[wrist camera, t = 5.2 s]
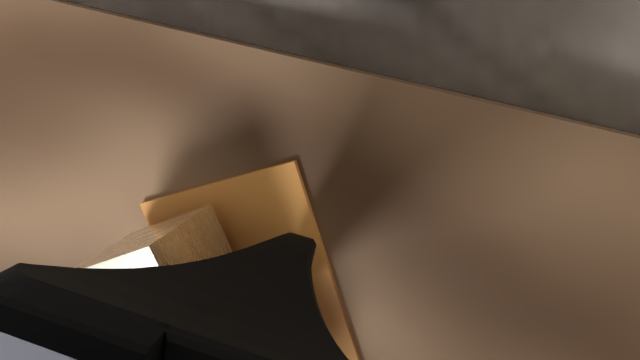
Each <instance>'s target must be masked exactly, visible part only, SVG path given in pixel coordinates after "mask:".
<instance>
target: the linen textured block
mask: <svg viewBox="0 0 640 360" xmlns="http://www.w3.org/2000/svg"><path fill="white" fill-rule="evenodd" d="M230 252H233V251H232V249H231V247H230V245H229V243H228V240H227V238H226V236H225V234H224V231H223V229H222V227H221V225H220V223H219V220H218V218H217V216H216V214H215V211H214V209H213V207H212V205H211V204H209V205H206V206H203V207H201V208H198V209H195V210H192V211H190V212H187V213H184V214H181V215H179V216H176V217H173V218H170V219H168V220H165V221H162V222H159V223H156V224H154V225H151V226H148V227H145V228H143V229H140V230H137V231H134V232H132V233H131V234H129V235H127V236H126V237H124V238H122V239H121V240H119V241H117V242H116V243H114V244H112V245H110V246H109V247H107V248H105V249H104V250H102V251H100V252H99V253H97V254H95V255H94V256H92V257H90V258H89V259H87V260H85V261H83V262H82V263H80V264H78V265H77V266H75V267H73V268H99V269H121V268H143V267H154V266H165V265H175V264H182V263H188V262H194V261H199V260H204V259H209V258H213V257H217V256H220V255H224V254H227V253H230Z"/></svg>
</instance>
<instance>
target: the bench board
mask: <svg viewBox="0 0 640 360" xmlns="http://www.w3.org/2000/svg"><path fill="white" fill-rule="evenodd" d="M209 204H211V205H212V207H213V209H214V211H215V214H216V216H217V218H218V220H219V223H220V225H221V227H222V229H223V231H224V234H225V236H226V238H227V240H228V243H229V245H230V247H231V249H232V251H233V252H234V251H237V250H240V249H244V248H247V247H250V246H252V245H255V244H258V243H261V242H263V241H266V240H269V239H272V238H274V237H277V236H280V235H282V234H285V233H289V232H292V233H295V234H298V235H302V236H305V237H309V238H312V239H314V241H315V243H316V244H317V245H316V249H315V253H314V258H313V262H312V266H311V268H312V280H313V286H314V291H315V295H316V299H317V303H318V306H319V309H320V312H321V314H322V317H323V319H324V322H325V324H326V326H327V328H328V330H329V332H330V333H331V335H332V337H333V339H334V340H335V342H336V344H337V345H338V346H339V348H340V349H341V350H342V352H343V353H344V354H345V356H346V357H347V358H348V359H349V360H640V135H638V134H633V133H629V132H625V131H620V130H616V129H612V128H608V127H603V126H599V125H595V124H590V123H586V122H582V121H578V120H573V119H569V118H565V117H560V116H556V115H552V114H548V113H543V112H539V111H535V110H530V109H526V108H522V107H518V106H513V105H509V104H505V103H500V102H496V101H492V100H488V99H483V98H479V97H475V96H470V95H466V94H462V93H458V92H453V91H449V90H445V89H440V88H436V87H432V86H428V85H423V84H419V83H415V82H410V81H406V80H402V79H398V78H393V77H389V76H385V75H380V74H376V73H372V72H367V71H363V70H359V69H355V68H350V67H346V66H342V65H337V64H333V63H329V62H325V61H320V60H316V59H312V58H307V57H303V56H299V55H295V54H290V53H286V52H282V51H277V50H273V49H269V48H265V47H260V46H256V45H252V44H247V43H243V42H239V41H235V40H230V39H226V38H222V37H217V36H213V35H209V34H205V33H200V32H196V31H192V30H187V29H183V28H179V27H175V26H170V25H166V24H162V23H157V22H153V21H149V20H144V19H140V18H136V17H132V16H127V15H123V14H119V13H114V12H110V11H106V10H102V9H97V8H93V7H89V6H84V5H80V4H76V3H72V2H67V1H63V0H0V272H2V271H4V270H6V269H8V268H10V267H12V266H14V265H15V264H17V263H27V264H37V265H49V266H61V267H75V266H77V265H78V264H80V263H82V262H83V261H85V260H87V259H89V258H90V257H92V256H94V255H95V254H97V253H99V252H100V251H102V250H104V249H105V248H107V247H109V246H110V245H112V244H114V243H116V242H117V241H119V240H121V239H122V238H124V237H126V236H127V235H129V234H131V233H132V232H134V231H137V230H140V229H143V228H145V227H148V226H151V225H154V224H156V223H159V222H162V221H165V220H168V219H170V218H173V217H176V216H179V215H181V214H184V213H187V212H190V211H192V210H195V209H198V208H201V207H203V206H206V205H209Z"/></svg>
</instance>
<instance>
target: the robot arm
mask: <svg viewBox="0 0 640 360" xmlns="http://www.w3.org/2000/svg"><path fill="white" fill-rule="evenodd" d="M316 245H317V244H316V243H315V241H314V239H312V238H309V237H305V236H302V235H298V234H295V233H292V232H289V233H285V234H282V235H280V236H277V237H274V238H272V239H269V240H266V241H263V242H261V243H258V244H255V245H252V246H250V247H247V248H244V249H240V250H237V251H234V252H230V253H227V254H224V255H220V256H217V257H213V258H209V259H204V260H199V261H194V262H188V263H182V264H175V265H165V266H154V267H143V268H121V269H99V268H73V267H61V266H49V265H37V264H27V263H17V264H15V265H14V266H12V267H10V268H8V269H6V270H4V271H2V272H0V360H349V359H348V358H347V357H346V356H345V354H344V353H343V352H342V350H341V349H340V348H339V346H338V345H337V344H336V342H335V340H334V339H333V337H332V335H331V333H330V332H329V330H328V328H327V326H326V324H325V322H324V319H323V317H322V314H321V312H320V309H319V306H318V303H317V299H316V295H315V291H314V286H313V280H312V268H311V266H312V262H313V258H314V253H315V249H316Z"/></svg>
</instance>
